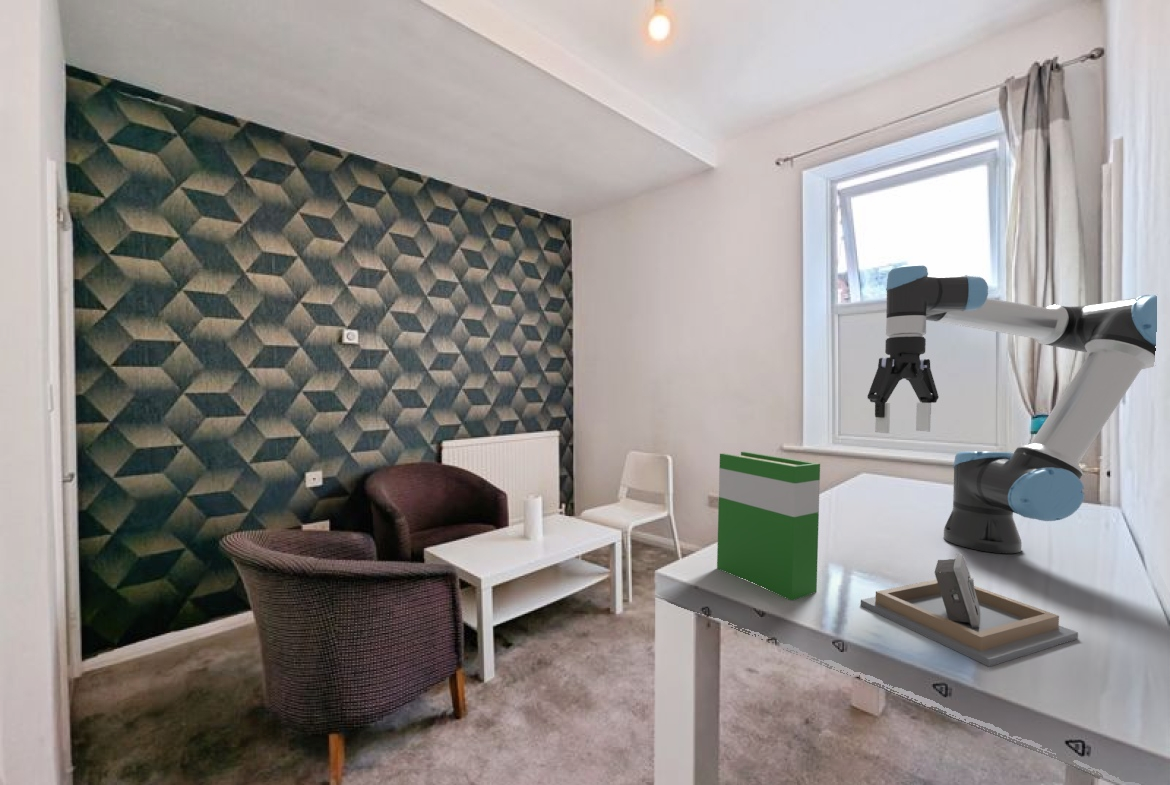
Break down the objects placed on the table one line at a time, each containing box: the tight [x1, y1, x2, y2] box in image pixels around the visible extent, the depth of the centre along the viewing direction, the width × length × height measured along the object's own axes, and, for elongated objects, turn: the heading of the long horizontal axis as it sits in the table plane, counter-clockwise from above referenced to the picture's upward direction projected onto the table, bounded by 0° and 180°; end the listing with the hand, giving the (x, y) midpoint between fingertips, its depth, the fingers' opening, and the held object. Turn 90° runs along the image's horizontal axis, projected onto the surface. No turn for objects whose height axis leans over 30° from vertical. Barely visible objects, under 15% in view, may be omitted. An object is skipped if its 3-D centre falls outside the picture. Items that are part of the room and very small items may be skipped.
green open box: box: [716, 451, 821, 601], centre depth 98 cm, size 18×7×24 cm, turn 32°
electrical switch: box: [934, 553, 980, 628], centre depth 82 cm, size 9×5×9 cm, turn 141°
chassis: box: [860, 579, 1079, 667], centre depth 82 cm, size 22×20×3 cm
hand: (903, 432), depth 111 cm, fingers open, 13 cm apart
